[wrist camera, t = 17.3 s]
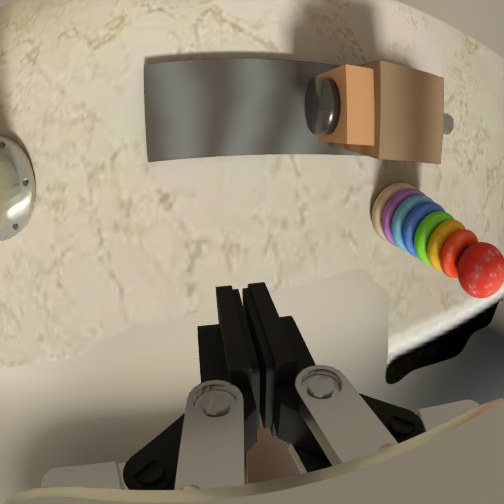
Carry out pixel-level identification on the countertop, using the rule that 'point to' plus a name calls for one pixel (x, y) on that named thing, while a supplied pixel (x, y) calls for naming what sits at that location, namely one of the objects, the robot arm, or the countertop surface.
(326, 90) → the shaft
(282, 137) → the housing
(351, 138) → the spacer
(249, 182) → the countertop surface
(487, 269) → the stacking toy
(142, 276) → the countertop surface
